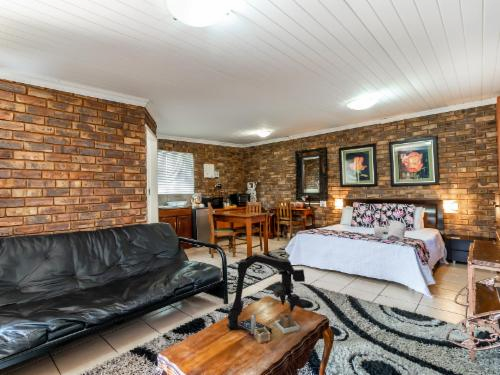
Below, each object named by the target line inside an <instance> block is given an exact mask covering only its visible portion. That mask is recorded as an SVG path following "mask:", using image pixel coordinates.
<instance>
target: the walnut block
mask: <svg viewBox="0 0 500 375" xmlns="http://www.w3.org/2000/svg"><path fill="white" fill-rule="evenodd" d="M279 320H280V325H281V326H282V327H283V328H284V329H285V328H289V327H293V326H294V321H295V317H294V316H293V315H292V314H290V312H287V313H284V314H283V313H281V314H280V315H279Z"/></svg>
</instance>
